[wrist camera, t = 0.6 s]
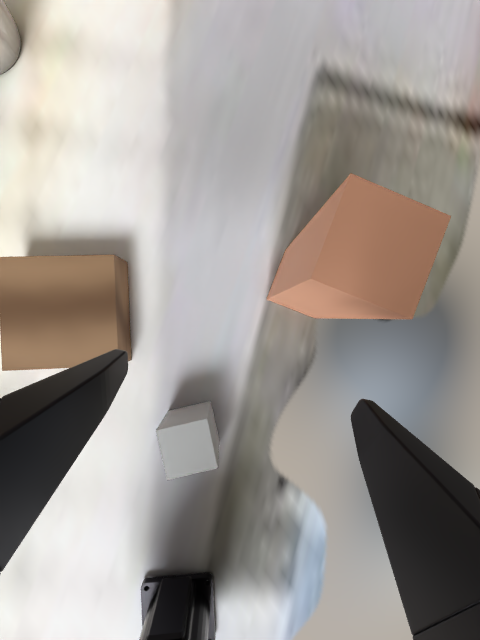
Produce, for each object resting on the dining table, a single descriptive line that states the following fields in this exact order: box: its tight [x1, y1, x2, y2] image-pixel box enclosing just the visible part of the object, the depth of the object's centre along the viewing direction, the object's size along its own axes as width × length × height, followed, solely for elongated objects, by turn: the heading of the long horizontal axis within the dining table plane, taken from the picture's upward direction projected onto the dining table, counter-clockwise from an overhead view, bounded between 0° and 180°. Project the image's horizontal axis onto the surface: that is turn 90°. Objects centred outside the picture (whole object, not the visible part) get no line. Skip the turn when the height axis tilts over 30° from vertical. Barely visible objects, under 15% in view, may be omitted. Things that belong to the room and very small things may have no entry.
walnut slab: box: [0, 255, 131, 371], centre depth 20 cm, size 9×9×3 cm
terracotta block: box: [267, 173, 451, 319], centre depth 17 cm, size 5×5×12 cm
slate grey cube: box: [156, 401, 220, 481], centre depth 20 cm, size 4×4×4 cm
